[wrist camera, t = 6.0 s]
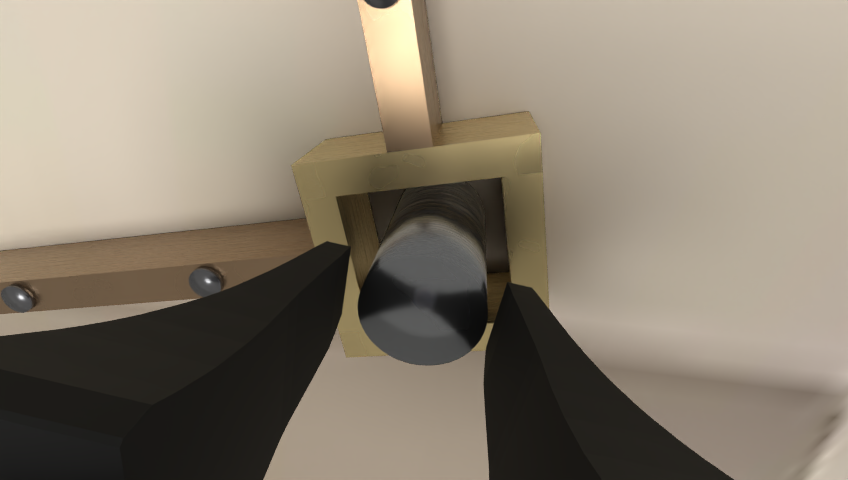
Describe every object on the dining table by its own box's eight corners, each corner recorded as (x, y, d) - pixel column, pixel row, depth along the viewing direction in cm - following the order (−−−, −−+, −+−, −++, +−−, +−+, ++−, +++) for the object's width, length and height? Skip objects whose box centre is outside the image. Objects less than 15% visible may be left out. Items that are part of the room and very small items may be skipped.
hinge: (539, 293, 16) (552, 351, 13) (42, 328, 20) (-32, 380, 17) (474, -811, 7) (470, -1337, 5) (-400, -385, 11) (-708, -528, 8)
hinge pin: (486, 251, 16) (489, 365, 11) (403, 253, 17) (367, 365, 11) (483, 169, 15) (485, 254, 9) (393, 174, 15) (347, 258, 10)
